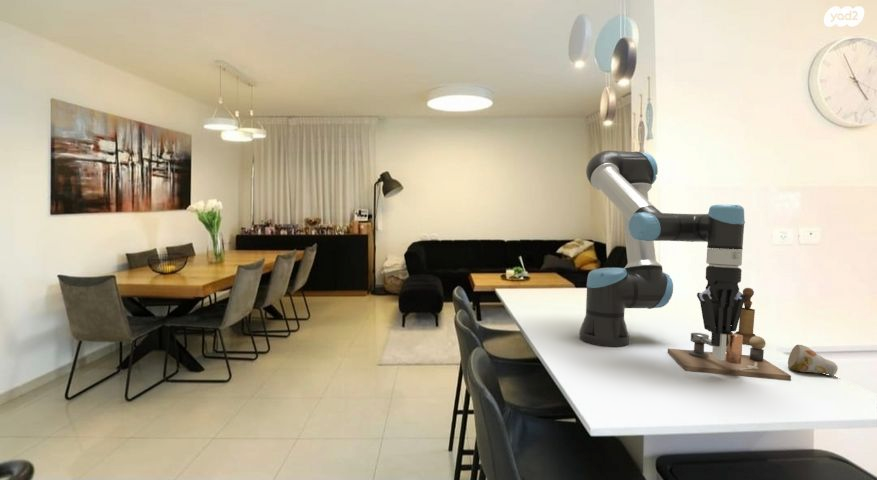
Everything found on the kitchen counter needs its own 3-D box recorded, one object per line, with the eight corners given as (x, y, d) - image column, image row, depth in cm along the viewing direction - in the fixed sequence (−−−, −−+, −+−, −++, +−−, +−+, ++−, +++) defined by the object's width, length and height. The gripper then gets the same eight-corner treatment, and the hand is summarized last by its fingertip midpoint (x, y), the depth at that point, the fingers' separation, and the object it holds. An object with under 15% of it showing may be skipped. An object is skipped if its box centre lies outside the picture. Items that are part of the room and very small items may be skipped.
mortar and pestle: (761, 345, 140) (765, 290, 139) (739, 344, 141) (742, 289, 140) (751, 340, 146) (754, 287, 145) (729, 338, 148) (732, 286, 147)
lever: (686, 344, 126) (688, 320, 126) (701, 344, 126) (702, 320, 126) (730, 363, 109) (731, 336, 109) (746, 363, 110) (748, 336, 109)
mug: (845, 382, 109) (825, 347, 109) (799, 389, 115) (780, 356, 115) (838, 367, 115) (820, 334, 115) (795, 374, 121) (777, 343, 121)
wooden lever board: (685, 370, 114) (686, 341, 114) (667, 352, 130) (669, 326, 129) (790, 380, 109) (792, 349, 108) (759, 360, 124) (760, 333, 124)
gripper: (713, 266, 105) (708, 363, 105) (758, 268, 107) (753, 362, 108) (690, 264, 112) (685, 354, 113) (732, 265, 115) (727, 354, 115)
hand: (718, 358), depth 110 cm, fingers closed
